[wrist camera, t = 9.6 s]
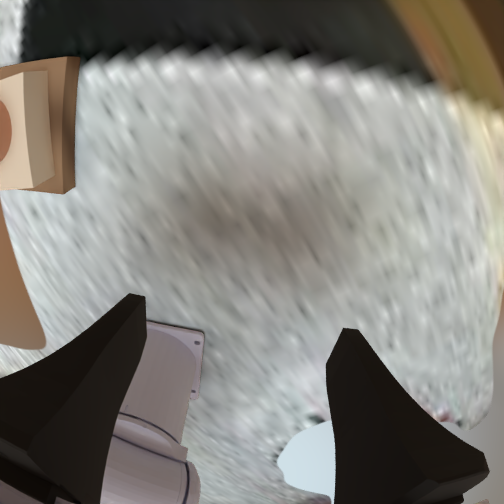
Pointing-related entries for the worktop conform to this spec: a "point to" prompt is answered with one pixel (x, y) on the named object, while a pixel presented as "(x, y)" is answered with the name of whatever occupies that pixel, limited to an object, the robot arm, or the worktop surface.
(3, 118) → the terracotta cylinder
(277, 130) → the worktop surface
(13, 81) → the cream slab
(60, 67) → the walnut base slab
